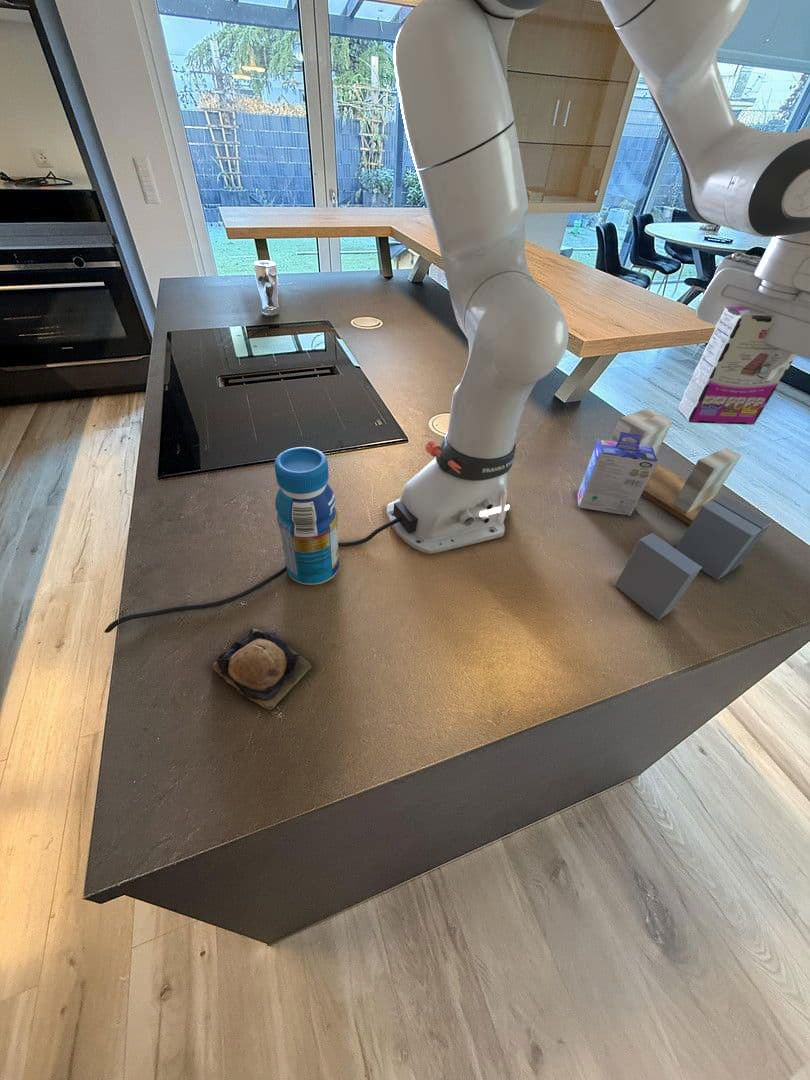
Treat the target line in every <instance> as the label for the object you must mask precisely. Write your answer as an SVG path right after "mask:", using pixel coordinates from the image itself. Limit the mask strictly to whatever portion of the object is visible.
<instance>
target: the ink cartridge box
mask: <svg viewBox="0 0 810 1080" xmlns="http://www.w3.org/2000/svg"><path fill="white" fill-rule="evenodd" d="M627 437H631V438H633V439H635V440H636V443H630V442H624V441H622V438H627ZM640 439H641V435H638V434H631V433H625V432H620V435H619V438H618V441H617V442H613V441H611V440H606V439H605V440H604V439H597V440H596V442H595V446H594V448H593V451H592V455H591V457H590V460H589V462H588V466H587V468H586V471H585V474H584V476H583V479H582V482H581V484H580V487H579V490H578V491H577V503H578V505H577V506H578V508H579V509H585V510H592V511H599V512H604V513H609V514H617V515H622V516H627V517H628V516H629V517H630V516H632V514H633V513H634V509H635V508H636V506H637V503H638V502H639V499H640V497H641V496H642V492H643V490H644V487H645V485H646V483H647V481H648V480H649V478H650V476H651V474H652V472H653V470H654V468H655V466H656V464H658V458H657V454H656V455H655V453H654V450H653V448H652V447H651V446H643V445H640Z"/></svg>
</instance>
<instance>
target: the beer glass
mask: <svg viewBox="0 0 810 1080" xmlns="http://www.w3.org/2000/svg"><path fill="white" fill-rule="evenodd" d="M253 265H254V276H255V283H256V287H257V291H258V293H259V296H260V300H261V309H262V308H263V309H266V310H273V309H277V308H278V307H279V308H280V306H279V305H280V304H279V299H278V298H279V277H278V270H277V267H276V263H275V262H274V261H272V260H271V261H270V260H258V261H255V262H253ZM261 314H262V315H264V316H266V317H274V316H273V315H272V314H270V313H268V314H267V313H264V312H262V311H261ZM269 314H270V315H269Z"/></svg>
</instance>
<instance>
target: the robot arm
mask: <svg viewBox="0 0 810 1080" xmlns="http://www.w3.org/2000/svg"><path fill="white" fill-rule="evenodd" d="M550 1H551V0H421V1H420V2H419V3H418V4H417V5H415V6H414V8H413V9H412V10H411V11H410V13H408V15H407V17H406V18H405V20H404V21H403V23H402V25H401V27H400V29H399V31H398V32H397V33H398V34H397V36H396V39H395V43H394V48H393V65H394V72H395V73H394V74H395V78H396V88H397V92H398V97H399V98H398V99H399V103H400V109H401V114H402V115H401V116H402V119H403V124H404V129H405V134H406V138H407V140H408V146H409V149H410V150H409V151H410V153H411V156H412V160H413V164H414V168H415V170H416V174H417V177H418V181H419V184H420V188H421V191H422V195H423V198H424V200H425V204H426V207H427V212H428V214H429V218H430V221H431V224H432V227H433V230H434V233H435V237H436V241H437V245H438V248H439V254H440V257H441V263H442V268H443V272H444V276H445V281H446V286H447V289H448V293H449V294H448V295H449V297H450V301H451V305H452V308H453V312H454V316H455V319H456V322H457V325H458V327H459V328H460V330H461V331H462V333H463V334H464V336H465V338H466V339H467V342H468V359H467V363H466V366H465V368H464V372H463V376H462V378H461V380H460V383H459V384H458V385H456V387H455V388H454V390H453V393H452V399H451V405H450V413H449V419H448V428H447V432H446V433H445V435H444V437H443V439H442V441H441V443H440V445H438V444H437V443H436V442H435V441H434V440H430V441H428V442H427V443H426V445H425V447H424V449H425V452H426V453H428V454H430V456H431V457H433V459H432V460H431V461H429V462H428V463H427V464H426V465H425V466H424V467H423V468H421V470H420V471H418V472H417V473H416V474H415V475H414V476H413V477H412V478H410V479H409V480H408V481H407V482H406V483H405V484H404V486H403V488H402V490H401V494H400V497H399V498H398V499H396V500H394V501H392V502H389V504H387V506H386V510H385V511H386V512H385V513H386V519H387V522H385V523H384V524H382V525H380V526H379V527H377V528H375V530H373V531H372V532H371V533H370V534H368V535H367V536H365V537H363V538H360V539H357V540H352V541H338V548H339V547H341V548H342V547H352V546H353V547H354V546H359V545H362V544H365V543H367V542H369V541H371V539H373V538H374V537H375V536H377V535H378V534H379V533H381V532H382V531H384V530H386V529H387V528H390V527H391V528H392V529H393V531H394V532H395V533H396V534H397V535H398V536H399V537H400V538H401V539H402V540H403V541H404V542H405V543H406V544H407V545H409V546H410V547H411V548H413V549H415V550H417V551H419V552H421V553H423V554H426V555H434V554H438V553H443V552H446V551H450V550H454V549H458V548H462V547H463V548H464V547H467V546H470V545H474V544H475V545H476V544H479V543H483V542H486V541H491V540H495V539H499V538H502V537H504V535H505V530H506V527H505V519H506V517H507V511H508V510H510V504H507V496H508V483H509V482H508V481H509V471H510V470H511V468H512V466H513V463H514V461H515V453H516V449H517V444H516V440H517V435H518V431H519V427H520V423H521V421H522V417H523V413H524V409H525V407H526V403H527V401H528V399H529V397H530V395H531V393H532V391H533V389H534V387H535V386H536V385H537V382H538V381H540V380H541V379H543V378H545V377H547V376H548V375H549V374H550V373H552V372H553V371H554V369H556V368H557V366H558V365H559V363H560V362H561V361H562V359H563V357H564V355H565V353H566V351H567V348H568V343H569V336H570V333H569V327H568V323H567V320H566V319H565V316H564V313H563V311H562V309H561V307H560V305H559V302H557V299H556V298H555V297H554V295H552V294H551V293H550V292H549V291H548V290H547V289H545V288H544V287H542V286H541V285H540V284H539V283H538V282H536V281H535V279H534V278H533V276H532V274H531V272H530V269H529V267H528V264H527V258H526V217H527V215H528V211H529V198H528V193H527V187H526V180H525V175H524V167H523V163H522V157H521V156H522V155H521V151H520V145H519V139H518V133H517V132H518V131H517V127H516V120H515V116H514V110H513V105H512V99H511V95H510V91H509V86H508V82H507V79H508V65H507V64H508V59H507V58H508V50H509V44H510V43H509V42H510V37H511V34H512V30H513V27H514V25H515V23H516V20H517V18H521V17H523V16H525V15H527V14H529V13H531V12H533V11H535V10H536V9H537V8H539V7H541V6H544V5H545V4H547V3H549V2H550ZM600 2H601V4H602V7H603V8H604V10H605V12H606V14H607V16H608V19H609V20H610V22H611V25H613V27H614V30H615V31H616V33H617V35H618V37H619V39H620V41H621V42H622V44H623V46H624V48H625V49H626V51H627V52H628V54H629V56H630V57H631V59H632V61H633V63H634V65H635V66H636V67H637V69H638V71H639V72H640V74H641V76H642V79H643V80H644V84H645V86H646V87H647V90H648V93H649V96H650V98H651V100H652V102H653V105H654V107H655V109H656V112H657V114H658V116H659V118H660V121H661V123H662V126H663V127H664V129H665V132H666V134H667V136H668V138H669V140H670V143H671V145H672V147H673V150H674V152H675V154H676V157H677V159H678V161H679V165H680V170H681V177H682V178H681V179H682V197H683V204H684V208H685V210H686V212H687V214H688V215H689V217H691V219H692V220H694V221H696V222H698V223H701V224H706V225H707V224H708V225H714V226H721V227H723V228H727V229H729V230H733V231H737V232H740V233H744V234H746V235H750V236H751V235H752V236H755V237H760V238H771V239H770V241H769V243H768V245H767V247H766V249H765V251H764V253H763V255H762V256H758V255H749V254H746V253H744V252H741V251H735V252H734V253H732V254H728V255H727V256H725V257H724V258H722V259H721V260H720V262H719V263H718V266H717V268H716V270H715V272H714V274H713V278H712V280H711V281H710V282H709V284H708V286H707V287H706V290H705V291H704V293H703V295H702V296H701V298H700V299H699V302H698V304H697V306H696V308H695V315H696V319H698V320H700V321H703V322H705V323H708V324H711V325H713V326H716V325H717V323H718V321H719V318H720V316H721V314H722V312H723V310H724V308H725V306H730V307H744V308H748V309H752V310H755V311H759V312H762V313H765V314H768V315H771V316H774V317H775V320H774V322H773V324H772V326H771V328H770V330H769V331H768V333H767V335H766V337H765V339H764V343H766V344H768V345H771V346H774V347H777V348H779V349H782V350H781V352H780V354H779V355H778V357H779V358H782V359H780V360H779V361H777V362H776V363H775V364H773V365H771V364H768V365H764V366H763V367H762V369H761V372H760V373H759V374H758V376H757V377H759V378H761V379H763V380H766V381H769V380H772V379H773V378H774V376H775V375H776V373H777V371H778V370H779V368H781V367H783V366H785V365H786V364H788V363H789V362H791V361H792V360H793V361H794V360H795V359H796V358H797V357H798V356H799V357H802V358H804V359H807V360H809V361H810V125H807V126H805V127H802V128H798V129H797V130H796V132H794V131H793V132H792V131H791V132H790V131H789V132H787V131H786V132H782V131H766V130H759V129H757V128H753V127H750V126H749V125H746V124H744V123H742V122H741V121H740V120H739V119H738V118H737V117H736V115H735V113H734V110H733V107H732V105H731V102H730V98H729V96H728V92H727V89H726V86H725V84H724V82H723V78H722V75H721V73H720V69H719V65H718V60H717V52H718V49H719V48H720V47H721V46H722V45H723V43H724V42H725V41H726V40H727V39H728V37H730V35H731V34H732V32H733V31H734V30H735V28H736V27H737V25H738V24H739V22H740V20H741V19H742V17H743V15H744V13H745V11H746V10H747V7H748V4H749V3H750V0H600ZM793 361H792V362H793ZM286 572H287V568H286V565H285V566H283V567H282V568H281V569H279V570H278V571H276V572H275V573H272V574H271V575H269V576H268V577H266V578H264V579H263V580H261V581H259V582H258V583H256V584H254V585H253V586H251V587H249V588H247V589H245V590H243V591H240V592H239V593H236V594H233V595H230V596H228V597H225V598H221V599H219V600H214V601H210V602H201V603H194V604H185V605H176V606H170V607H164V608H160V609H155V610H154V609H153V610H147V611H142V612H136V613H135V612H134V613H130V614H127V615H124V616H121V617H119V618H117V619H115V620H113V621H112V622H111V623H110V624H109V625H108V626H107V627H106V628H105V630H104V631H103V633H104V634H108V633H111V632H112V631H113V630H114V629H115V628H116V627H118V626H119V625H121V624H123V623H126V622H128V621H132V620H137V619H142V618H149V617H155V616H161V615H166V614H172V613H177V612H183V611H194V610H204V609H210V608H214V607H215V608H216V607H218V606H219V607H220V606H222V605H225V604H226V605H227V604H229V603H232V602H235V601H237V600H240V599H242V598H244V597H246V596H248V595H250V594H252V593H254V592H256V591H257V590H259V589H261V588H262V587H264V586H266V585H268V584H269V583H271V582H272V581H274V580H275V579H277V578H279V577H281V576H282V575H284V574H285V573H286ZM118 619H119V623H118Z"/></svg>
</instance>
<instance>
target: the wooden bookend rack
mask: <svg viewBox="0 0 810 1080" xmlns="http://www.w3.org/2000/svg"><path fill="white" fill-rule="evenodd" d="M673 423H674V420H672V419H670V418H669V417H667V416H664V415H663V414H660V413H658V412H656V411H654V410H652V409H651V408H644V409H641V410H639V411H635V412H633V413H629V414H627V415H624V416H621V417H619V418H618V422H617V423H616V426H615V429H614V431H613V434H612V436H611V438H610V441H613V442H617V441H618V438H619V435H620V432H625V433H631V434H638V435H641V439H640V445H643V446H651V447H652V448H653V450H654V453H655V455H656V456H657V455H658V453H659V450H660V448H661V447H662V444H663V442H664V440H665V438H666V437H667V434H668V432H669V431H670V428H671V427H672V424H673ZM622 441H624V442H630V443H636V440H635V439H633V438H631V437H627V438H622ZM741 457H742V454H741V453H738V452H736V451H735V450H732V449H730V448H728V447H723V448H722V449H720V450H717V451H715V452H713V453H711V454H708V455H706V456H704V457H702V458H700V459H697V461H696V463H695V465H694V467H693V469H692V471H691V472H690V474H689V475H688V477H687V479H685V478H683V477H682V476H680V475H678V474H676V473H675V472H673V471H672V470H669V469H668V468H666V467H664V466H663V465H661V464H659V463H657V464H656V466H655V468H654V470H653V472H652V474H651V476H650V478H649V480H648V481H647V483H646V485H645V487H644V490H643V492H642V494H641V496H643V497H644V498H646V499H648V500H649V501H651V502H653V503H654V504H656V505H657V506H659V507H660V508H663V509H664V510H665V511H667V512H668V513H670V514H671V515H673V516H674V517H676V518H678V519H679V520H681V521H682V522H684V523H686V525H689V526H690V525H691V523H692V522H693V520H694V518H695V517H696V515H697V514H698V512H699V511H700V509H701V507H702V506H704V505H706V504H707V503H709V502H711V501H713V500H715V499H717V498H718V497H716V496H717V495H718V493H719V491H720V490H721V488H722V487H723V485H724V483H725V482H726V481H727V478H728V477H729V476H730V474H731V473H732V472H733V470H734V468H735V467H736V465H737V463H738V462H739V460H740V459H741Z"/></svg>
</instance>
